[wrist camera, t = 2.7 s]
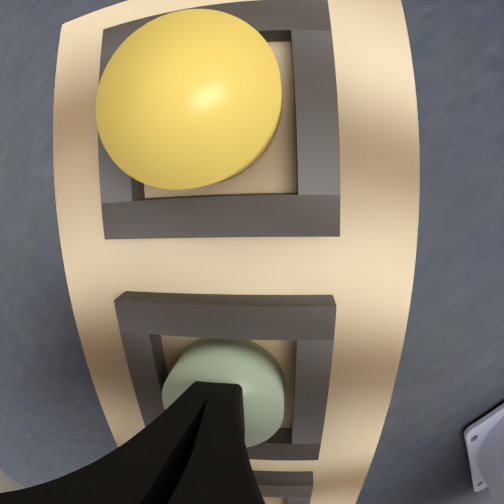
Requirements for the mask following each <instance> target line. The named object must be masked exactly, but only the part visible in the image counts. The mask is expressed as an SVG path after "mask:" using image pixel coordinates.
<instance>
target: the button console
mask: <svg viewBox="0 0 504 504" xmlns="http://www.w3.org/2000/svg"><path fill="white" fill-rule="evenodd" d="M188 9H210V10H217V11H221V12H224V13H228V14H230V15H233V16H235V17H238V18H239V19H241V20H243V21H245V22H246V23H248V24H249V25H250V26H252V27H253V28H254V29H255V30H257V31H258V32H259V34H260V35H261V36H262V37H263V38H264V39H265V40H266V42H267V43H268V45H269V46H270V48H271V50H272V52H273V54H274V56H275V58H276V61H277V64H278V68H279V71H280V79H281V89H282V115H281V120H280V124H279V127H278V130H277V133H276V135H275V137H274V139H273V141H272V143H271V145H270V146H269V148H268V149H267V151H266V152H265V153H264V154H263V155H262V157H261V158H260V159H259V160H258V161H257V162H256V163H255V164H254V165H253V166H251V167H250V168H249V169H247V170H246V171H244V172H243V173H241V174H239V175H238V176H236V177H234V178H232V179H229V180H227V181H224V182H221V183H217V184H213V185H208V186H203V187H198V188H192V189H184V190H169V189H162V188H156V187H153V186H150V185H146V184H144V183H142V182H140V181H137V180H135V179H134V178H132V177H131V176H129V175H128V174H126V173H125V172H124V171H123V170H122V169H120V168H119V167H118V166H117V165H116V163H115V162H114V161H113V160H112V159H111V157H110V156H109V154H108V153H107V151H106V150H105V147H104V145H103V143H102V141H101V138H100V135H99V132H98V128H97V122H96V96H97V91H98V87H99V83H100V80H101V77H102V74H103V72H104V70H105V68H106V66H107V64H108V62H109V61H110V59H111V57H112V56H113V54H114V53H115V52H116V50H117V49H118V48H119V46H120V45H121V44H122V43H123V42H124V41H125V40H126V39H127V38H128V37H129V36H130V35H131V34H133V33H134V32H135V31H136V30H137V29H139V28H140V27H142V26H143V25H145V24H147V23H148V22H150V21H152V20H154V19H156V18H158V17H161V16H163V15H166V14H169V13H172V12H176V11H180V10H188ZM53 161H54V182H55V196H56V208H57V218H58V227H59V235H60V242H61V249H62V256H63V262H64V268H65V273H66V279H67V284H68V289H69V294H70V299H71V304H72V308H73V312H74V317H75V321H76V325H77V329H78V333H79V337H80V340H81V344H82V348H83V351H84V355H85V358H86V361H87V365H88V368H89V371H90V374H91V377H92V380H93V383H94V386H95V389H96V392H97V395H98V398H99V401H100V404H101V406H102V409H103V412H104V414H105V417H106V420H107V422H108V425H109V427H110V430H111V432H112V434H113V437H114V439H115V442H116V444H117V446H118V447H119V446H121V445H122V444H124V443H125V442H127V441H128V440H129V439H131V438H132V437H133V436H135V435H136V434H137V433H138V432H140V431H141V430H142V429H144V428H145V427H146V426H147V425H149V424H150V423H151V422H152V421H153V420H154V419H155V418H157V417H158V416H159V415H160V414H161V413H162V412H163V411H165V409H164V405H163V401H162V390H163V386H164V383H165V381H166V379H167V377H168V376H169V374H170V372H171V370H172V369H173V367H174V365H175V363H176V362H177V360H178V358H179V356H180V355H181V353H182V352H183V351H184V350H185V348H186V347H188V346H189V345H190V344H191V343H193V342H195V341H197V340H199V339H202V338H215V339H240V340H250V341H252V342H254V343H256V344H258V345H260V346H262V347H263V348H264V349H266V350H267V351H268V352H269V353H270V354H271V355H273V356H274V358H275V359H276V360H277V361H278V363H279V365H280V366H281V369H282V371H283V374H284V378H285V395H284V415H283V420H282V423H281V425H280V427H279V429H278V430H277V431H276V433H275V434H274V435H273V436H271V437H270V438H269V439H267V440H266V441H264V442H262V443H260V444H257V445H255V446H251V447H247V448H246V449H247V453H248V457H249V460H250V464H251V467H252V470H253V473H254V476H255V479H256V482H257V484H258V487H259V490H260V492H261V495H262V497H263V499H264V502H265V504H355V503H356V501H357V498H358V496H359V493H360V491H361V488H362V486H363V483H364V481H365V478H366V475H367V473H368V470H369V467H370V464H371V462H372V459H373V456H374V453H375V450H376V447H377V444H378V441H379V438H380V434H381V431H382V428H383V425H384V421H385V418H386V414H387V411H388V407H389V403H390V400H391V396H392V392H393V388H394V384H395V380H396V375H397V371H398V367H399V362H400V357H401V352H402V348H403V342H404V337H405V332H406V326H407V320H408V314H409V307H410V301H411V293H412V286H413V277H414V269H415V259H416V247H417V234H418V217H419V186H420V161H419V130H418V114H417V101H416V90H415V81H414V73H413V65H412V58H411V51H410V45H409V39H408V33H407V28H406V22H405V17H404V12H403V8H402V3H401V0H128V1H125V2H122V3H119V4H115V5H112V6H109V7H106V8H103V9H101V10H98V11H95V12H92V13H89V14H87V15H84V16H82V17H79V18H77V19H74V20H72V21H69V22H67V23H65V24H62V29H61V35H60V42H59V49H58V58H57V67H56V78H55V91H54V112H53Z"/></svg>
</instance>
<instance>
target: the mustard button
mask: <svg viewBox="0 0 504 504" xmlns="http://www.w3.org/2000/svg"><path fill="white" fill-rule="evenodd" d="M281 115H282V89H281V79H280V71H279V68H278V64H277V61H276V58H275V56H274V54H273V52H272V50H271V48H270V46H269V45H268V43H267V42H266V40H265V39H264V38H263V37H262V36H261V35H260V34H259V32H258V31H257V30H255V29H254V28H253V27H252V26H250V25H249V24H248V23H246V22H245V21H243V20H241V19H239V18H238V17H235V16H233V15H230V14H228V13H224V12H221V11H217V10H210V9H188V10H180V11H176V12H172V13H169V14H166V15H163V16H161V17H158V18H156V19H154V20H152V21H150V22H148V23H147V24H145V25H143V26H142V27H140V28H139V29H137V30H136V31H135V32H134V33H133V34H131V35H130V36H129V37H128V38H127V39H126V40H125V41H124V42H123V43H122V44H121V45H120V46H119V48H118V49H117V50H116V52H115V53H114V54H113V56H112V57H111V59H110V61H109V62H108V64H107V66H106V68H105V70H104V72H103V74H102V77H101V80H100V83H99V87H98V91H97V96H96V122H97V128H98V132H99V135H100V138H101V141H102V143H103V145H104V147H105V150H106V151H107V153H108V154H109V156H110V157H111V159H112V160H113V161H114V162H115V163H116V165H117V166H118V167H119V168H120V169H122V170H123V171H124V172H125V173H126V174H128V175H129V176H131V177H132V178H134V179H135V180H137V181H140V182H142V183H144V184H146V185H150V186H153V187H156V188H162V189H169V190H184V189H192V188H198V187H203V186H208V185H213V184H217V183H221V182H224V181H227V180H229V179H232V178H234V177H236V176H238V175H239V174H241V173H243V172H244V171H246V170H247V169H249V168H250V167H251V166H253V165H254V164H255V163H256V162H257V161H258V160H259V159H260V158H261V157H262V155H263V154H264V153H265V152H266V151H267V149H268V148H269V146H270V145H271V143H272V141H273V139H274V137H275V135H276V133H277V130H278V127H279V124H280V120H281Z"/></svg>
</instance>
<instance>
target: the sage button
mask: <svg viewBox="0 0 504 504" xmlns="http://www.w3.org/2000/svg"><path fill="white" fill-rule="evenodd" d="M195 381H201V382H213V383H229V384H239V385H240V386H241V387H242V391H243V407H244V422H245V440H244V441H245V445H246V448H247V447H251V446H255V445H257V444H260V443H262V442H264V441H266V440H267V439H269V438H270V437H271V436H273V435H274V434H275V433H276V431H277V430H278V429H279V427H280V425H281V423H282V420H283V415H284V395H285V378H284V374H283V371H282V369H281V366H280V365H279V363H278V361H277V360H276V359H275V358H274V356H273V355H271V354H270V353H269V352H268V351H267V350H266V349H264V348H263V347H262V346H260V345H258V344H256V343H254V342H252V341H250V340H240V339H215V338H202V339H199V340H197V341H195V342H193V343H191V344H190V345H189V346H188V347H186V348H185V350H184V351H183V352H182V353H181V355H180V356H179V358H178V360H177V362H176V363H175V365H174V367H173V369H172V370H171V372H170V374H169V376H168V377H167V379H166V381H165V383H164V386H163V390H162V401H163V405H164V409H165V410H166V409H167V408H168V407H169V406H170V405H171V404H172V403H173V402H174V401H175V400H176V399H177V398H178V397H179V396H180V395H181V394H182V393H183V392H184V391H185V390H186V389H187V388H188V387H189V386H191V385H192V384H193V383H194V382H195Z"/></svg>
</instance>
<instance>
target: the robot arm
mask: <svg viewBox="0 0 504 504" xmlns="http://www.w3.org/2000/svg"><path fill="white" fill-rule="evenodd" d="M464 438H465V443H466V448H467V453H468V458H469V464H470V470H471V476H472V483H473V489H474V491H475V492H479V491H481V490H483V489H484V488H486V487H488V489H489V491H490V494H491V496H492V498H493V500H494V503H495V504H504V403H503V404H501V405H500V406H499V407H497V408H496V409H494V410H493V411H491V412H490V413H489V414H487V415H486V416H484V417H483V418H481V419H479V420H478V421H476V422H475V423H473V424H472V425H470V426H469V427H468V428H467V429H466V430H465V432H464ZM244 440H245V422H244V407H243V391H242V387H241V386H240V385H239V384H229V383H213V382H201V381H195V382H194V383H193V384H192V385H191V386H189V387H188V388H187V389H186V390H185V391H184V392H183V393H182V394H181V395H180V396H179V397H178V398H177V399H176V400H175V401H174V402H173V403H172V404H171V405H170V406H169V407H168V408H167V409H166V410H165V411H163V412H162V413H161V414H160V415H159V416H158V417H157V418H155V419H154V420H153V421H152V422H151V423H150V424H149V425H147V426H146V427H145V428H144V429H142V430H141V431H140V432H138V433H137V434H136V435H135V436H133V437H132V438H131V439H129V440H128V441H127V442H125V443H124V444H122V445H121V446H119V447H118V448H117V449H115V450H113V451H112V452H110V453H109V454H107V455H105V456H104V457H102V458H100V459H99V460H97V461H95V462H93V463H91V464H89V465H87V466H85V467H83V468H81V469H78V470H76V471H74V472H72V473H70V474H67V475H65V476H63V477H60V478H58V479H55V480H52V481H49V482H46V483H43V484H40V485H36V486H33V487H29V488H25V489H21V490H17V491H11V492H5V493H0V504H265V502H264V499H263V497H262V495H261V492H260V490H259V487H258V484H257V482H256V479H255V476H254V473H253V470H252V467H251V464H250V460H249V457H248V453H247V449H246V445H245V441H244Z"/></svg>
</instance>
